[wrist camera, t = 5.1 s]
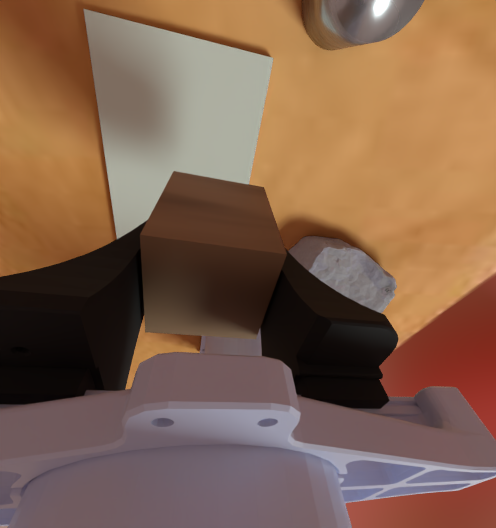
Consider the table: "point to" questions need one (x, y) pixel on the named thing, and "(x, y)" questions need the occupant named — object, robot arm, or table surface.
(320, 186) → the table surface
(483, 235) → the table surface
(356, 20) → the steel cylinder
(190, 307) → the walnut block
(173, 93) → the sage mat
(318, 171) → the table surface
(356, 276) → the stone block
